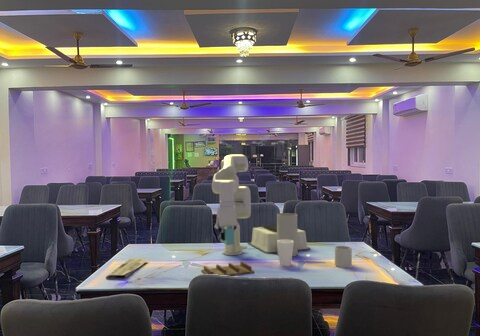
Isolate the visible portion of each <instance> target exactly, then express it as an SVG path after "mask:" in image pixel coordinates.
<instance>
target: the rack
mask: <svg viewBox="0 0 480 336" xmlns="http://www.w3.org/2000/svg"><path fill="white" fill-rule="evenodd" d="M239 263H240V264H236V265H234V264H233V263H231V262H228V265H227V266H221V265H220V264H216V267H214V268H213V267H211V268H209V267H207V265H204V266H203V269H201V270H200V271H201V273H202V274H204V275H205V274H218V275H232V276H231V277H234V276H233V275H235V276H239V275H238V274H242V275H249V274H254V273H255V270H253V268H252V266H251V265H250V264H247V263H246V262H244V261H243V260H242V261H240V262H239ZM248 273H249V274H248Z"/></svg>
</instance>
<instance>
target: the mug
mask: <svg viewBox="0 0 480 336" xmlns="http://www.w3.org/2000/svg"><path fill="white" fill-rule="evenodd" d="M352 251H353V250H352V247H351V246H348V245H336V246H334V266H335V267H338V268H343V269H344V268H345V269H346V268H347V269H348V268H351V267H352V266H353V265H352V264H353V263H352V262H353V261H352V259H353V258H352Z"/></svg>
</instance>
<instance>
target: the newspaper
mask: <svg viewBox="0 0 480 336" xmlns="http://www.w3.org/2000/svg"><path fill="white" fill-rule="evenodd" d="M148 261H149V259H146V258H129V259H127V260H126V261H125V262H124V263H122V264H121V265H120V266H118V267H116V269H114V270H113V271H111V272H110V273H109V274H108V275H106V277H105V279H115V278H116V277H118V276H121V277H122V276H123V279H126V278H127V277H129V276H130V275H131V274H132V273H134V272H135V271H136V270H137V269H138V268H140V267H141V266H142V265H143V266H144V264H145V263H147V262H148Z"/></svg>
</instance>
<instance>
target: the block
mask: <svg viewBox="0 0 480 336" xmlns="http://www.w3.org/2000/svg"><path fill="white" fill-rule="evenodd" d="M219 233H220V241H219V242H220V243H223V244H224V245H225V244H226V245H231V244H234V228H231V227H224V233H225V240H224V241H223V240H221V232H220V231H219Z"/></svg>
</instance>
